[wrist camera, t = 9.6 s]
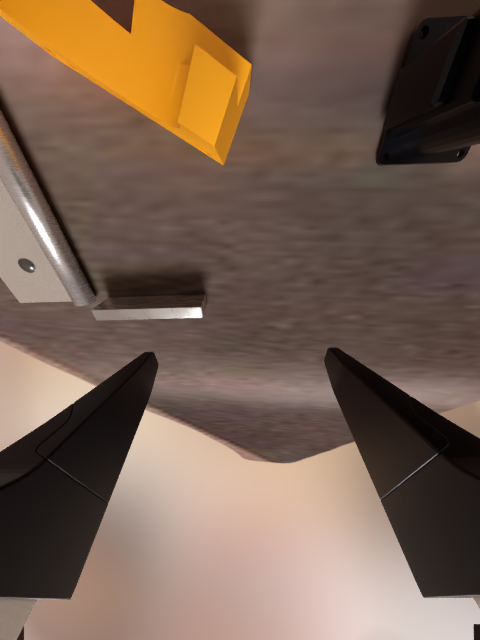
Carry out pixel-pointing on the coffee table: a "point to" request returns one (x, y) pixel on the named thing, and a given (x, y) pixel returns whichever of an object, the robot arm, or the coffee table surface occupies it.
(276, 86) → the coffee table surface
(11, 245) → the hinge bed
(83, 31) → the pipe clamp
